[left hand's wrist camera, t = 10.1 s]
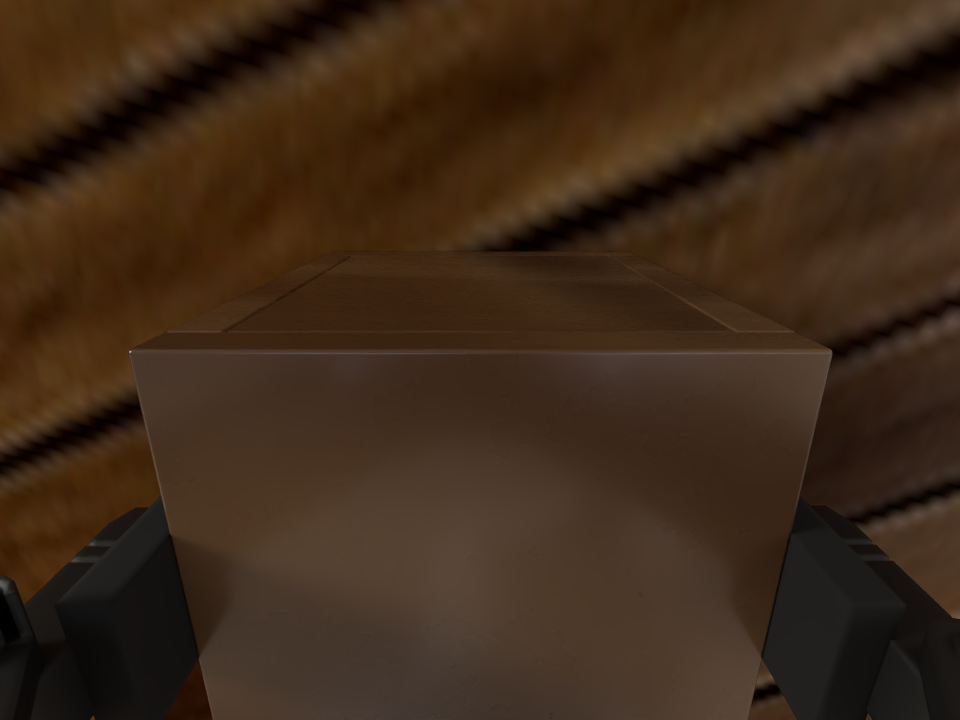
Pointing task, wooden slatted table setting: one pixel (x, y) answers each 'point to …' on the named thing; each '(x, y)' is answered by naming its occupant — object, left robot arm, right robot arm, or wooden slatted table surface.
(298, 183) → the wooden slatted table surface
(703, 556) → the brown box
